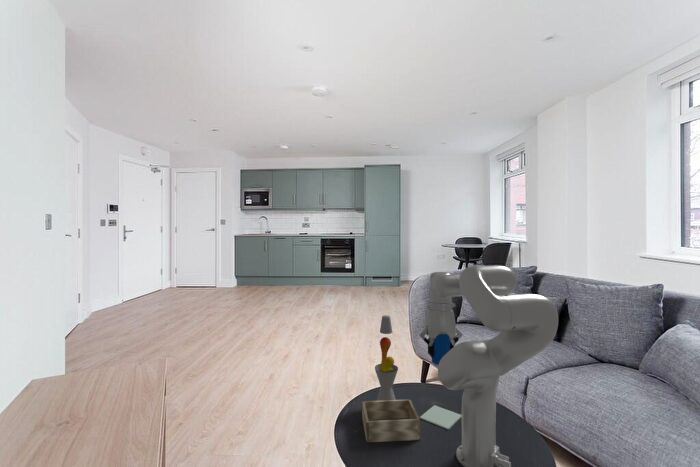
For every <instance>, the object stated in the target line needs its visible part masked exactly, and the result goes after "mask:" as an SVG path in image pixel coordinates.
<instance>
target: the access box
mask: <svg viewBox="0 0 700 467" xmlns="http://www.w3.org/2000/svg"><path fill="white" fill-rule="evenodd" d="M361 417H362V418H361V420H362V425H363V430H364V435H365V436H364V437H365V440H366V443H382V442H399V441H401V442H402V441H420V440H421V419H420V416H419V414H418V412H417V409H416V408H415V406H414V404H413V402H412V400H411V399H406V398H405V399H396V400H381V401H377V400H362V401H361Z"/></svg>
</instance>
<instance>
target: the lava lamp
mask: <svg viewBox="0 0 700 467" xmlns="http://www.w3.org/2000/svg"><path fill="white" fill-rule="evenodd" d="M391 320H392V319H391V316H390V315H389V314H388V315H386V314H385V315H382V316H381V321H380V328H379V333H380V334H382V335H389V334H393V328H392V327H393V326H392V321H391ZM379 346H380V350H381V362H380V363H379V364H376V365H375V366H374V371H375V374H376V377H377V379H378V383H379V385H380V387H379V388H380V389H379V391H378V392H379V393H378V395H377V398H376V401H381V400H397V399H396V396H395V394H394V393H395V392H394V389H393V386H394V382H395V379H396V377H397V373H398V371H399V367H398V366H397V365H396V364H395V359H394V358H393V357H391V356H388V352H389V349H390V348H391V346H392V341H391V339H390V338H389V337H387V336H385V337H381V339H380V340H379Z"/></svg>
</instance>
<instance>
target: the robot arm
mask: <svg viewBox="0 0 700 467" xmlns="http://www.w3.org/2000/svg"><path fill="white" fill-rule="evenodd" d="M429 275H430V276H429V309H427V312H426V318H425V327H424V328H423V330H422V331H420V333H418V335H419V337H420V338H421V339H422V341H423V342H425V344H426V345H427V354H428V355H429V357H431V358H432V357H434V347H433V346H432V344H433V342H434V339H436V336H437V335H439V333H447V335H449V337H450V351H449V352H447V353H446V354H445V355H444V356H443V357H442V359H441V360H440V362H439V366H437V373H438V374H437V375H438V379H439V381H440V383H441V384H442V385H443V387H445V388H446V389H448V390H450V391H461V390H462V391H463V392H462V396H461V415H462V417H461V445H459V446H458V447H457V448H456V451H455V453H456V459H457V461H458V462H459V463H460V464H461V466H463V467H512V462H511V461H510V457H509V456H507V455H504V454H501V452H500V447H499V446H498V445H497V443H496V442H497V441H496V440H497V438H496V437H497V428H496V426H497V421H496V420H497V417H496V416H497V392H498V386H499V382H500V377H501V376H504V375H506V374H507V373H509V372H512V370H514V369H516V368H517V367H519V366H521V365H522V364H524V363H525V362H527V361H528V360H531V359H532V358H534V357H536V356H537V355H539V354H540V353H541V352H543V351H544V350H546V349H547V348H548V347H549V346H550V344H551V343H552V342H553V340H554V339H555V337H556V334H557V331H558V327H559V313H558V310H557V307H556V305H555V304H554V302H553V301H552V300H551V299H549V298H547V297H546V296H543V295H541V294H535V293H513V292H514V291H515V290H516V288H517V286H518V285H517V284H518V278H517V276H516V274H515V272H514V270H512V269H511V268H509V267H507V266H504V265H500V264H499V265H498V264H494V265H470V266H468V267H465V268H464V269H462V271H461V273H450V272H446V271H434V272H431V273H430V274H429ZM452 297H453V298H455V297H464V299H465V300H466V302H467V303H468V304H469V306H470V307H471V309H472V310H473V311H474V313H475V315H476V316H477V317H478V319H479V321H480V323H482V324H483V325H484V327H486V329H488V330H490V331H492V332H495V333H498V334H497V335H495V336H494V337H493V338H491V339H490V338H489V339H482V340H472V341H469V340H468V341H463V342H460V343H458V342H459V341H460V339H461V338H462V337H463V333H462V332H461V331H460V330H459V329H458V328H457V327H456V326H457V325H456V318H455V313H454V310H453V308H455V307H456V303H455V302H452V301H453V300H452ZM499 332H500V333H499ZM426 336H428V338H427V337H426Z"/></svg>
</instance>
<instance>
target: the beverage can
mask: <svg viewBox="0 0 700 467" xmlns="http://www.w3.org/2000/svg"><path fill="white" fill-rule="evenodd" d="M432 346H433V347H434V357H431V362H432V364H433V365H434V366H436V367H438V366H439V362H440V360H441V359H442V357H443V356H444V355H445V354H446V353H447V352H449V351H450V337H449V335H447V333H439V335H437V336H436V339H434V342H433V344H432Z"/></svg>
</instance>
